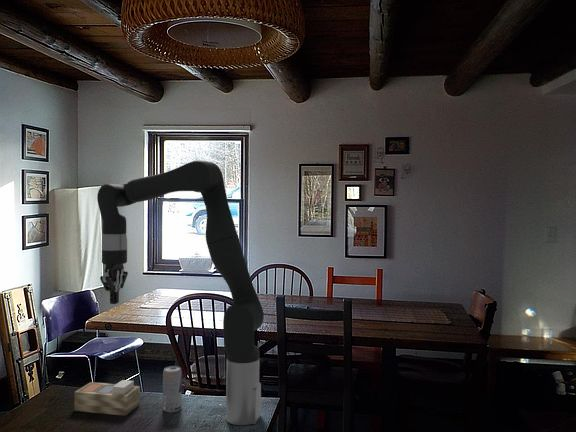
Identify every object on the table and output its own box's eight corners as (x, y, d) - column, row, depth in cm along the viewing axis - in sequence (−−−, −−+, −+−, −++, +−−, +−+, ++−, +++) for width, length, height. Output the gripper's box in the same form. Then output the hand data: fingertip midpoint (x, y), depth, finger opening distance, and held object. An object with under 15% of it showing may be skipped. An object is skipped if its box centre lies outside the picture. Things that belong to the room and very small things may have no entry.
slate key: (118, 396, 151) (118, 386, 151) (108, 403, 146) (108, 393, 146) (107, 395, 152) (107, 385, 152) (96, 402, 146) (96, 392, 146)
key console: (139, 404, 151) (139, 386, 151) (125, 415, 143) (126, 396, 143) (90, 399, 154) (90, 382, 154) (74, 410, 146) (74, 392, 146)
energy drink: (182, 405, 151) (183, 365, 151) (179, 412, 146) (179, 371, 145) (164, 405, 151) (165, 365, 151) (161, 412, 146) (161, 371, 145)
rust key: (102, 394, 152) (102, 384, 152) (92, 401, 147) (92, 391, 146) (92, 393, 153) (92, 383, 153) (81, 400, 147) (81, 390, 147)
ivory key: (133, 390, 150) (133, 380, 150) (124, 397, 145) (124, 387, 145) (122, 389, 151) (122, 379, 151) (112, 396, 145) (112, 386, 145)
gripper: (114, 250, 150) (114, 308, 150) (135, 246, 163) (135, 300, 163) (91, 249, 151) (91, 307, 152) (114, 246, 164) (114, 299, 165)
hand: (114, 303), depth 157 cm, fingers closed
